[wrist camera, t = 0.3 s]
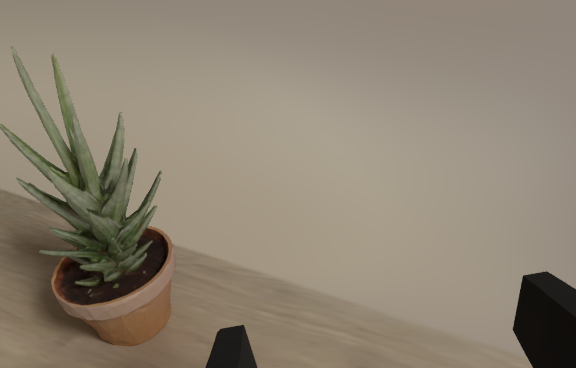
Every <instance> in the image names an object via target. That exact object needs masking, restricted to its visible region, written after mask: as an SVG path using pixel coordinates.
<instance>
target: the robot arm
mask: <svg viewBox="0 0 576 368" xmlns="http://www.w3.org/2000/svg"><path fill="white" fill-rule="evenodd" d="M513 331H514V333H515V335H516V337H517V339H518V341H519V343H520V344H521V346H522V348H523V350H524V352H525V354H526V356H527V358H528V359H529V361H530V363H531V365H532V367H533V368H576V289H574V288H572V287H571V286H570V285H568V284H566V283H565V282H563V281H562V280H560V279H558V278H557V277H555V276H554V275H552V274H550V273H549V272H541V273H536V274H530V275H524V276H523V279H522V284H521V289H520V294H519V300H518V306H517V310H516V316H515V321H514V327H513ZM206 368H257V365H256V362H255V359H254V356H253V352H252V349H251V346H250V343H249V340H248V337H247V333H246V330H245V327H244V325H240V326H235V327H229V328H223V329H220V330H219V331H218V332H217V335H216V338H215V342H214V345H213V348H212V351H211V354H210V357H209V359H208V362H207V365H206Z"/></svg>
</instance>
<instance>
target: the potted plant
mask: <svg viewBox="0 0 576 368" xmlns="http://www.w3.org/2000/svg"><path fill="white" fill-rule="evenodd" d="M11 50H12V54H13V58H14V61H15V64H16V66H17V69H18V72H19V75H20V77H21V80H22V82H23V84H24V87H25V89H26V91H27V94H28V96H29V98H30V100H31V102H32V104H33V105H34V107H35V109H36V111H37V113H38V115H39V117H40V119H41V122H42V124H43V126H44V128H45V130H46V132H47V134H48V135H49V137H50V139H51V141H52V143H53V145H54V147H55V149H56V150H57V152H58V154H59V156H60V158H61V160H62V162H63V164H64V166H65V168H66V170H67V171H68V172H64V171H63V170H61V169H59V168H58V167H56V166H55V165H53V164H52V163H50V162H49V161H47V160H46V159H45V158H43V157H42V156H41V155H39V154H38V153H37V152H35V151H34V150H33V149H32V148H31V147H29V146H28V145H27V144H26V143H24V142H23V141H22V140H21V139H20V138H18V137H17V136H16V135H15V134H13V133H12V132H10V131H9V130H8V129H7V128H6V127H5V126H3V125H2V124H0V128H1V129H2V131H3V132H4V133H5V134H6V136H7V137H8V138H9V139H10V141H11V142H12V143H13V144H14V145H15V146H16V147H17V148H18V149H19V151H20V152H21V153H22V154H24V156H25V157H26V158H27V159H28V160H29V161H30V162H31V163H32V164H34V166H36V167H37V169H38V170H40V172H42V173H43V175H45V177H47V179H49V180H50V181H51V182H52V183H53V184H54V186H55V187H56V188H57V189H58V191H59V192H60V193H61V194H62V195H63V196H64V198H65V199H66V201H67V202H64V201H62V200H60V199H58V198H56V197H54V196H52V195H49V194H47V193H45V192H43V191H41V190H39V189H38V188H36V187H35V186H34V185H32V184H31V183H29V184H28V183H26V182H24V181H22V180H20V179H19V178H16V179H17V181H18V183H19V184H20V185H21V186H22V187H23V188H24V189H26V191H28V192H29V193H30V194H31V195H33V196H34V197H35V198H36V199H37V200H39V201H40V202H41V203H43V204H44V205H45V206H47V207H48V208H49V209H51V210H52V211H54V212H55V213H56V214H58V215H60V216H61V217H62V218H64V219H65V220H66V221H67V222H68V223H70V224H71V225H72V226H73V227H74V228H75V229H76V230H77V231H65V230H61V229H56V228H50V227H49V228H48V229H49V230H50V231H51V232H52V233H53V234H54V235H56V236H57V237H59V238H61V239H62V240H64V241H66V242H68V243H70V244H72V245H73V246H75V247H74V248H72V249H71V250H59V249H56V250H40V251H38V252H40V253H42V254H48V255H52V256H62V257H63V258H62V259H61V260H60V262H59V263H58V265H57V266H56V268H55V269H54V273H53V277H52V280H51V284H52V289H53V292H54V294H55V296H56V298H57V300H58V302H59V304H60V305H61V306H62V308H63V309H64V310H65V311H66V312H67V313H68V314H69V315H71V316H73V317H76V318H81V319H82V320H83V321H85V322H86V323H87V324H89V325H90V326H91V327H93V328H94V329H95V330H96V331H97V332H98V334H99V336H100V337H101V338H102V339H103V340H105V341H107V342H109V343H111V344H113V345H123V346H133V345H137V344H141V343H143V342H145V341H147V340H149V339H151V338H152V337H154V336H155V335H156V334H158V333H159V332H160V330H161V329H162V328H163V327H164V326H165V324H166V323H167V321H168V319H169V317H170V312H171V306H170V291H171V278H172V276H173V274H174V270H175V267H176V256H175V251H174V246H173V244H172V242H171V240H170V238H169V237H168V236H167V235H166V234H165V233H164V232H163V231H161V230H160V229H157V228H154V227H150V226H147V225H148V224H149V222H150V220H151V218H152V217H153V215H154V213H155V210H156V208H157V206H154V207H153V208H152V209H151V210H150V212H149V213H148V214H147V215H146V216H145V214H146V212H147V210H148V208H149V206H150V204H151V202H152V200H153V197H154V195H155V192H156V190H157V187H158V185H159V182H160V180H161V178H160V175H161V173H162V172H161V171H160V172H159V173H158V175H157V177H156V179H155V181H154V183H153V185H152V187H151V189H150V191H149V192H148V194H147V195H146V197H145V199H144V200H143V202H142V204H141V206H140V207H139V209H138V210H137V211H135V212H134V213H133V214H132V215H130V216H129V217H127V218H126V210H127V206H128V202H129V197H130V192H131V188H132V184H133V179H134V173H135V168H136V162H137V152H136V148H135V149H134V152H133V154H132V157H131V159H130V161H129V164H128V160H127V158H125V159H124V163H123V166H122V158H123V148H124V125H123V118H122V112H120V113H119V117H118V123H117V128H116V132H115V135H114V138H113V141H112V144H111V148H110V151H109V153H108V157H107V159H106V161H105V165H104V168H103V170H102V172H101V174H100V176H98V173H97V170H96V167H95V164H94V161H93V158H92V155H91V152H90V150H89V148H88V145H87V143H86V140H85V138H84V136H83V134H82V131H81V128H80V125H79V121H78V118H77V115H76V112H75V109H74V106H73V103H72V100H71V97H70V94H69V92H68V88H67V86H66V83H65V79H64V77H63V74H62V72H61V70H60V67H59V64H58V62H57V59H56V57H55V55H54V54H52V63H53V68H54V77H55V82H56V88H57V93H58V98H59V102H60V107H61V111H62V115H63V119H64V123H65V128H66V131H67V135H68V139H69V143H70V147H71V152H72V153H71V152H70V150H69V148H68V147H67V145H66V143H65V142H64V140H63V138H62V136H61V135H60V133H59V131H58V129H57V127H56V125H55V123H54V122H53V120H52V118H51V116H50V115H49V113H48V111H47V109H46V108H45V106H44V104H43V102H42V100H41V98H40V96H39V94H38V93H37V91H36V90H35V88H34V86H33V83H32V81H31V79H30V77H29V75H28V73H27V72H26V70H25V68H24V66H23V64H22V62H21V60H20V58H19V57H18V56H17V52H16V50H15V49H14V48H13V47H11ZM121 168H122V169H121ZM144 216H145V217H144Z"/></svg>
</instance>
